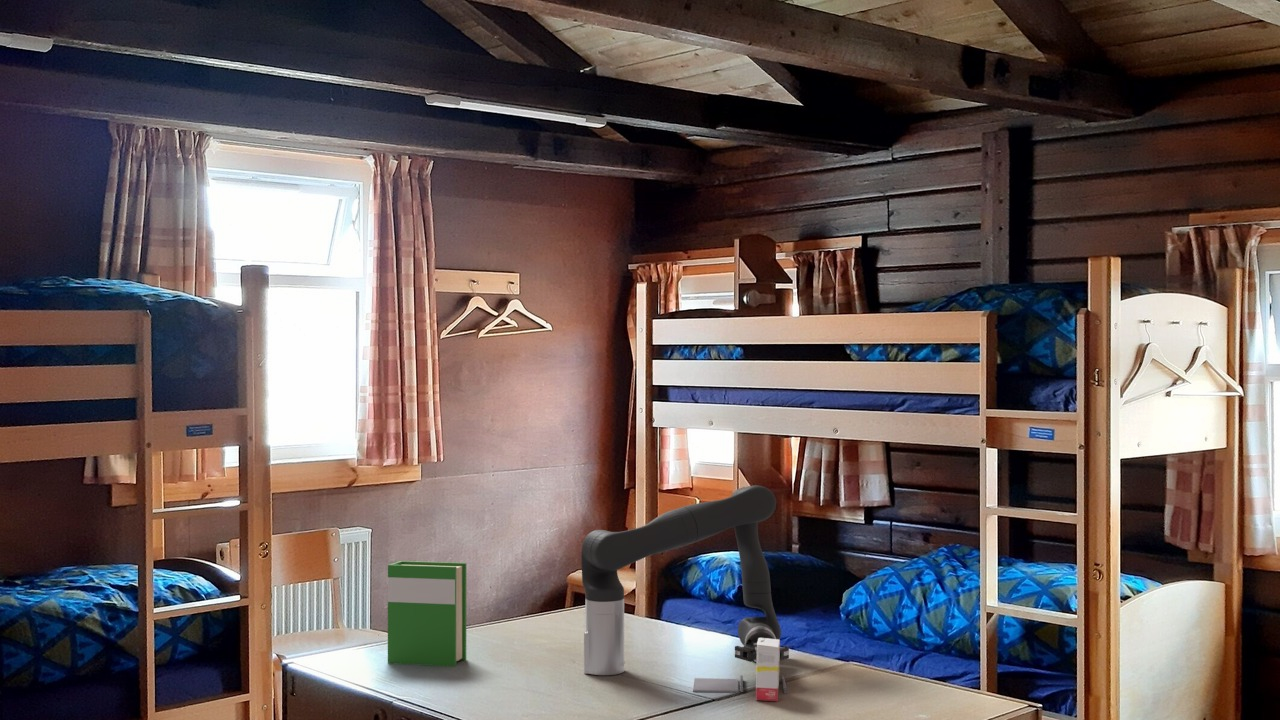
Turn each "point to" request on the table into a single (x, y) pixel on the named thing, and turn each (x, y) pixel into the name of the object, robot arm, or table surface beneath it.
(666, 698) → the table surface
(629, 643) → the table surface
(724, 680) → the grey flat slab
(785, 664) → the table surface
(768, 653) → the ink box
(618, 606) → the robot arm
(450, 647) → the hardback book
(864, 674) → the table surface
